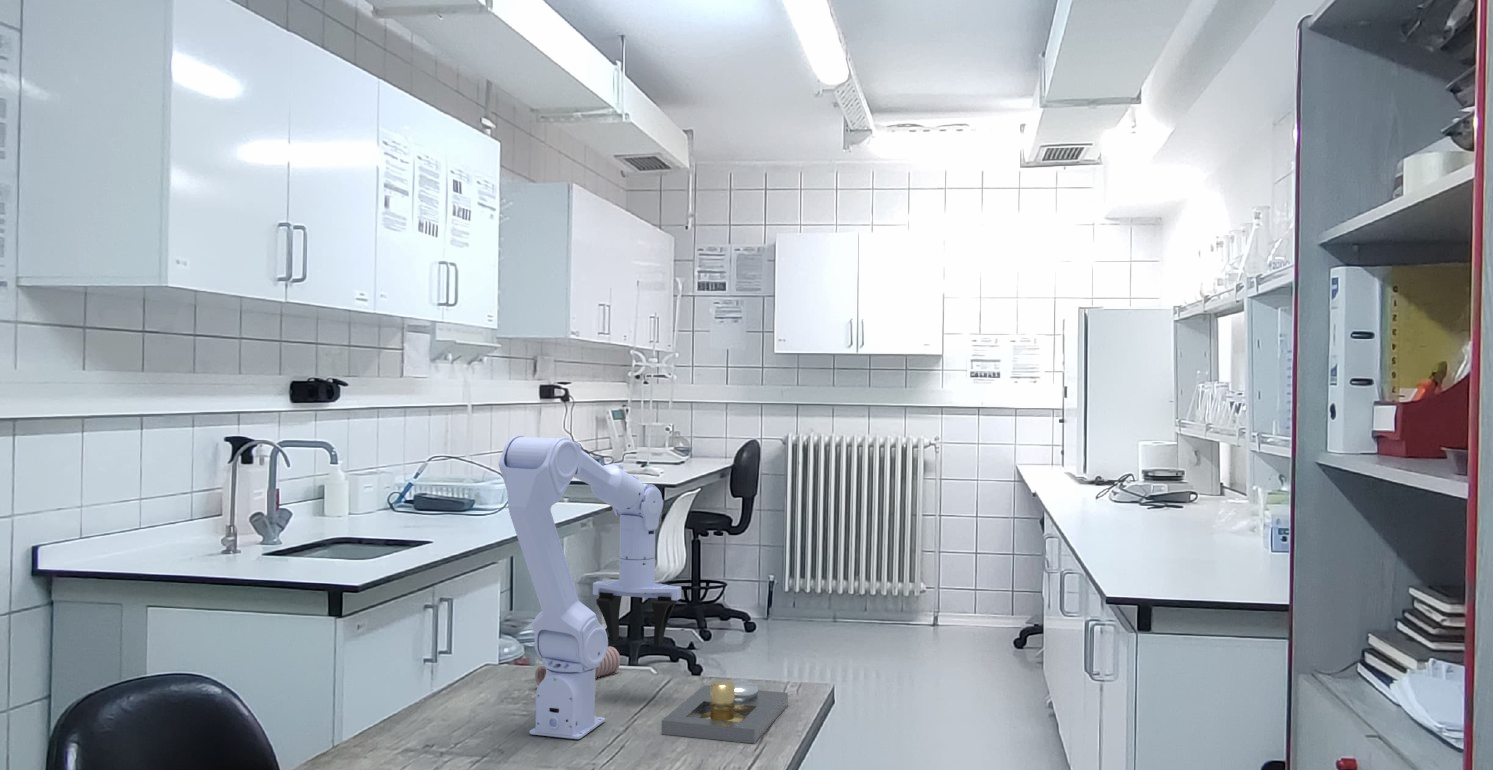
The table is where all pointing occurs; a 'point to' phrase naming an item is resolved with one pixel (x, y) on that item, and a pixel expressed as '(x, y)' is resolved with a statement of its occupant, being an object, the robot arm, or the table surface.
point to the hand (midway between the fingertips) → (636, 642)
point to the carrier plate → (747, 702)
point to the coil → (606, 667)
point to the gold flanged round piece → (722, 702)
